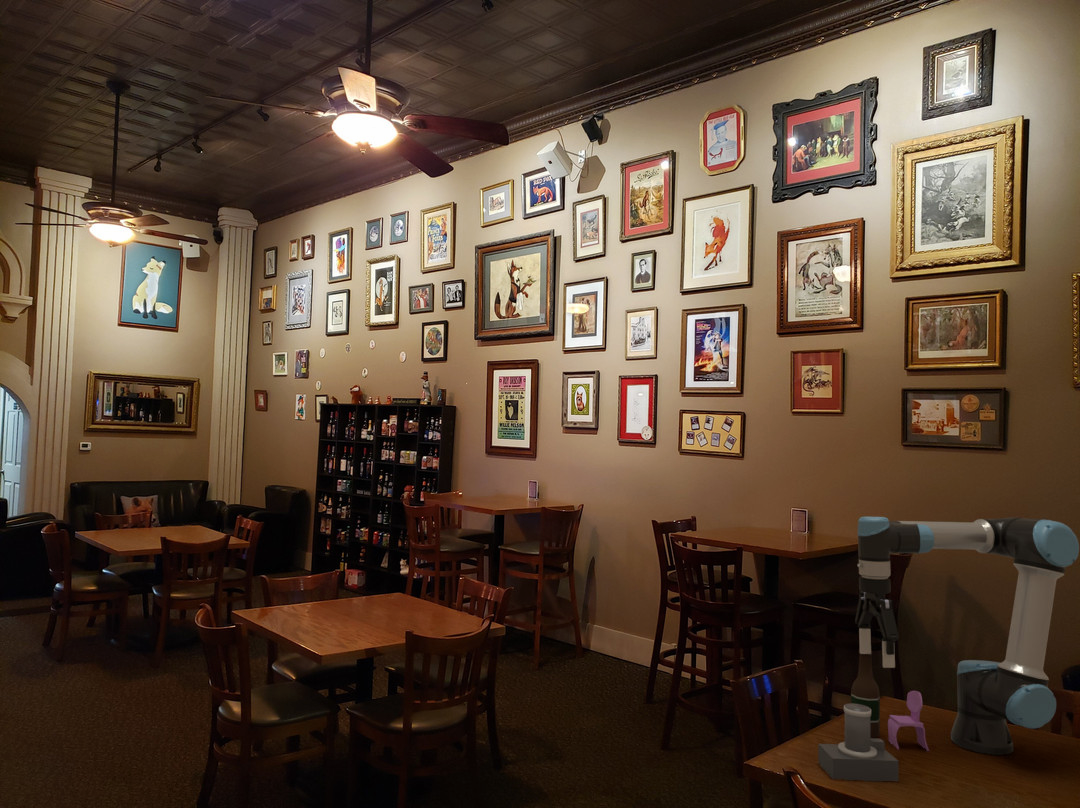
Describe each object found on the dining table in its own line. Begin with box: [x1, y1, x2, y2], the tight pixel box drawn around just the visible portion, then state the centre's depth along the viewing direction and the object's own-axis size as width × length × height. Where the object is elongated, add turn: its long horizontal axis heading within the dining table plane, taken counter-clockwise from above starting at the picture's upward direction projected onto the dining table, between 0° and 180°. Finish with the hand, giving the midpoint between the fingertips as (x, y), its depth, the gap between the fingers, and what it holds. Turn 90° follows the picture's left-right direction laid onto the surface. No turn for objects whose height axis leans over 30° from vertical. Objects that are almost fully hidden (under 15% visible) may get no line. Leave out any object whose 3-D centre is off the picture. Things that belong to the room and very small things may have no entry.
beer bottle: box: [850, 648, 881, 739], centre depth 222 cm, size 8×8×24 cm
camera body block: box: [817, 738, 900, 782], centre depth 193 cm, size 16×10×7 cm, turn 90°
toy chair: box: [887, 690, 930, 752], centre depth 213 cm, size 8×9×15 cm
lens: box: [843, 702, 871, 753], centre depth 193 cm, size 6×6×10 cm
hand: (876, 660), depth 198 cm, fingers open, 13 cm apart
